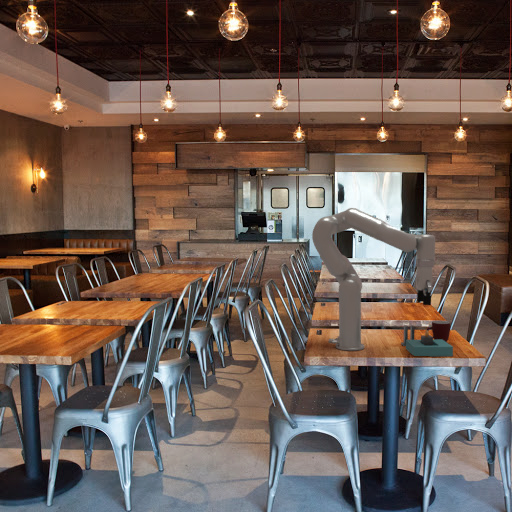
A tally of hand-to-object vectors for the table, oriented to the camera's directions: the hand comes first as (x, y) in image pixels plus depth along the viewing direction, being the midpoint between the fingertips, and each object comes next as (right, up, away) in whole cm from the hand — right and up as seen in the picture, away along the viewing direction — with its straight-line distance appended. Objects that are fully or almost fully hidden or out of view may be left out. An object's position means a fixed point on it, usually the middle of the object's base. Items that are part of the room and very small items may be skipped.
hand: (423, 303), depth 249 cm
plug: (+1, -21, -1) cm, 21 cm away
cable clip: (-3, -20, +12) cm, 24 cm away
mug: (+11, -20, +15) cm, 27 cm away
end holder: (+2, -21, -1) cm, 21 cm away
